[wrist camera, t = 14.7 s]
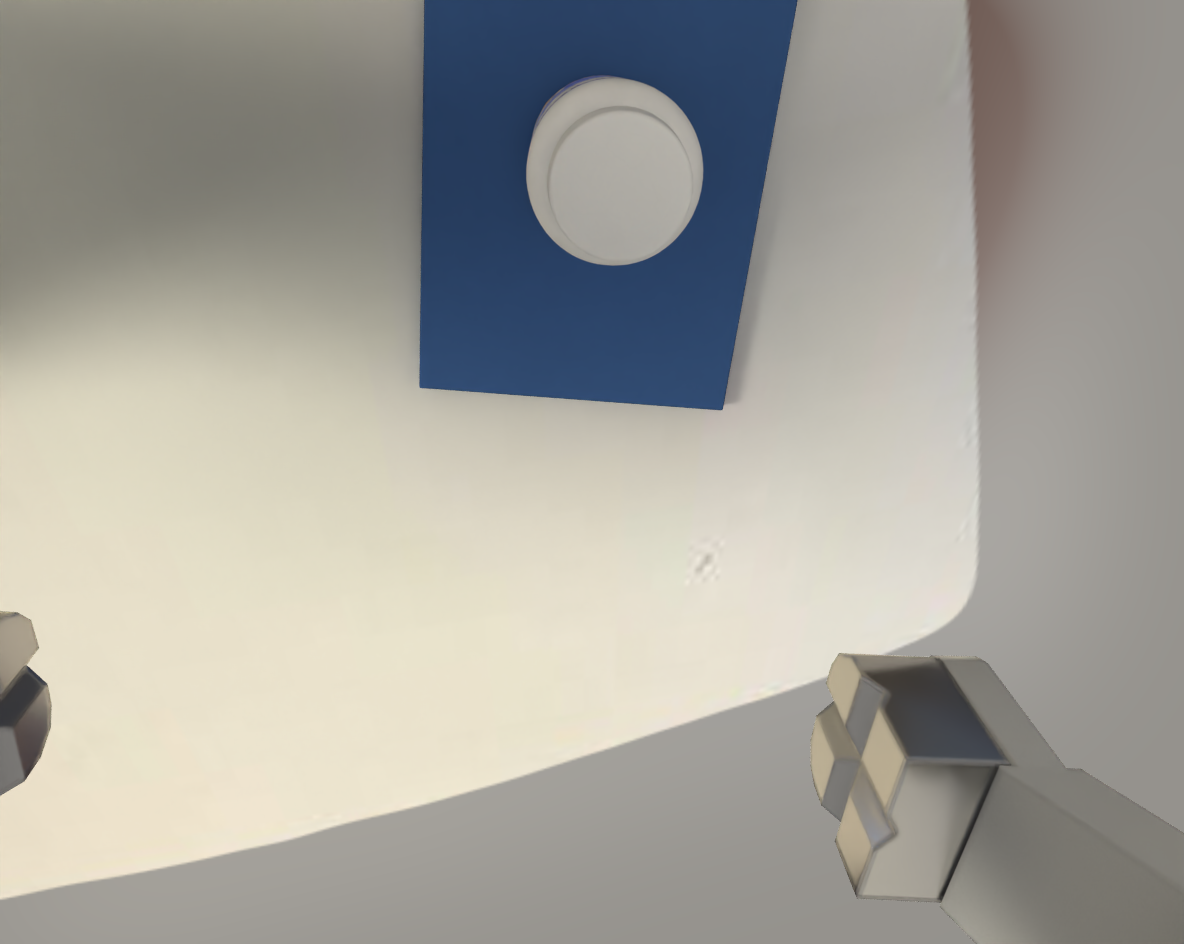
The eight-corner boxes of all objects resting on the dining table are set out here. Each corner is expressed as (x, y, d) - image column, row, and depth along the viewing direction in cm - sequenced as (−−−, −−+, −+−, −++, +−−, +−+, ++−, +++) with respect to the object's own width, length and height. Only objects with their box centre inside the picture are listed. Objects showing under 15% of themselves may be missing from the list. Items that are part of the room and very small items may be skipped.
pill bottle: (691, 196, 32) (747, 247, 24) (561, 248, 33) (569, 317, 24) (645, 48, 30) (688, 45, 21) (505, 107, 31) (492, 128, 22)
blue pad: (421, 383, 36) (419, 388, 35) (428, -202, 27) (426, -207, 26) (720, 405, 37) (722, 410, 36) (820, -147, 28) (825, -151, 28)
